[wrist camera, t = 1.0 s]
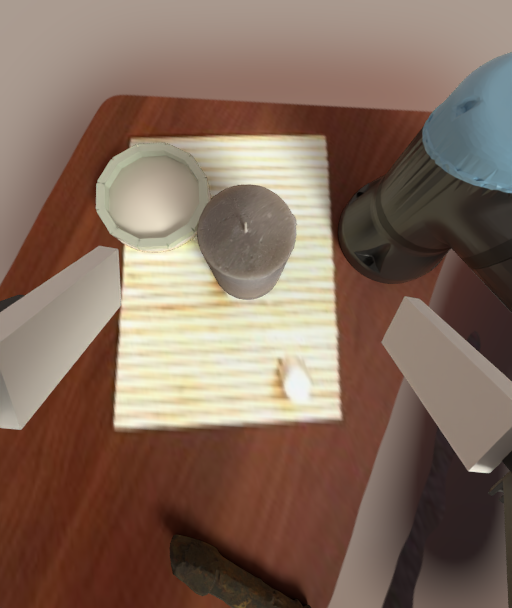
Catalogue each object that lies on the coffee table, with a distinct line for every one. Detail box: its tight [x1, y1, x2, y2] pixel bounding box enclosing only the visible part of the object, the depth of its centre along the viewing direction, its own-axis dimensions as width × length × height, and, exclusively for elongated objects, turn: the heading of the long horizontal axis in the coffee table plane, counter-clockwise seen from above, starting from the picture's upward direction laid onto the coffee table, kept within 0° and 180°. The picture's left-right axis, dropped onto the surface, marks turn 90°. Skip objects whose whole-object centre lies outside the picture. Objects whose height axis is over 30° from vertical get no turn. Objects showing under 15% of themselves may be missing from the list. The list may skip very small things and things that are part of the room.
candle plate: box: [96, 143, 211, 253], centre depth 40 cm, size 16×16×2 cm
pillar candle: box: [197, 185, 297, 300], centre depth 33 cm, size 10×10×15 cm
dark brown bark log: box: [170, 535, 311, 608], centre depth 33 cm, size 19×4×5 cm, turn 58°
